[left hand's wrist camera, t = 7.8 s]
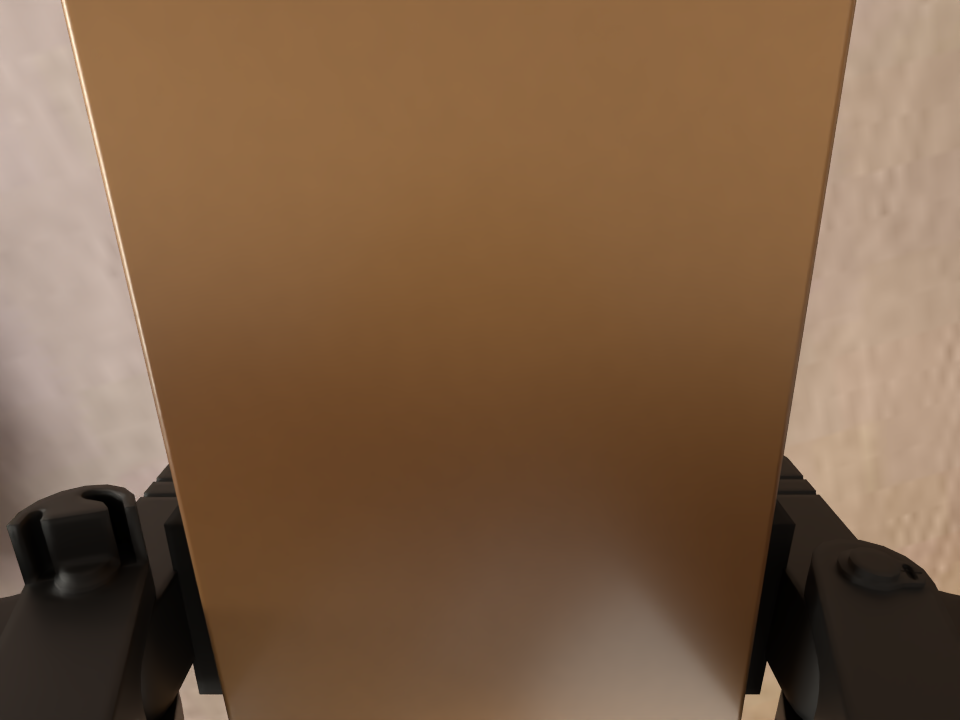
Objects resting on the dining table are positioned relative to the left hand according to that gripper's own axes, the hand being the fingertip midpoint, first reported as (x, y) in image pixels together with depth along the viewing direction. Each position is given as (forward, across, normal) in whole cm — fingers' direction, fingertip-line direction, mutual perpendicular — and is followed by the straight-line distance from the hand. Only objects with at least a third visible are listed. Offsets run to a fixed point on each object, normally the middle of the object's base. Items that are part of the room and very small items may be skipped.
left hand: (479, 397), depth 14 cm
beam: (+1, +1, -25) cm, 25 cm away
